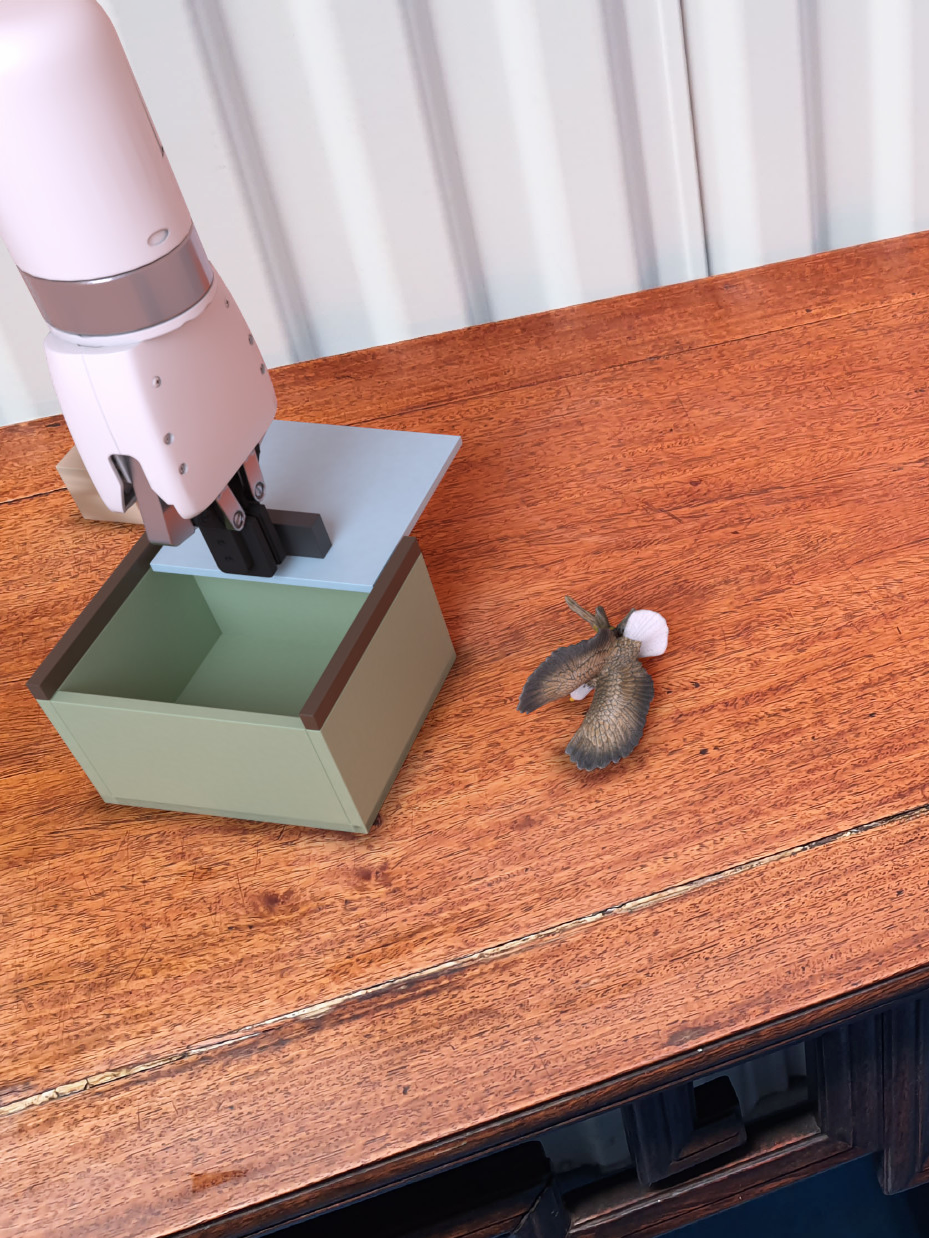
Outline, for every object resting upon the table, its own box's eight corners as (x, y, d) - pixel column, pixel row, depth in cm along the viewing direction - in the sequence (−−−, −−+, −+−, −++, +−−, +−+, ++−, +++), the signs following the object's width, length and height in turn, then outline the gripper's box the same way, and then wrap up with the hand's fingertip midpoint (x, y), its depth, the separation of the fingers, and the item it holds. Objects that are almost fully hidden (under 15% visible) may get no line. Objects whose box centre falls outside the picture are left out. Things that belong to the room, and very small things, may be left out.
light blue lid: (153, 571, 79) (132, 531, 77) (263, 425, 88) (247, 386, 86) (375, 593, 78) (360, 554, 76) (463, 443, 87) (451, 404, 85)
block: (83, 519, 96) (54, 466, 92) (119, 476, 99) (92, 424, 96) (146, 525, 95) (119, 472, 92) (180, 482, 98) (155, 430, 95)
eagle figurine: (537, 638, 86) (489, 730, 79) (588, 559, 82) (543, 648, 75) (646, 698, 88) (609, 793, 81) (700, 624, 84) (667, 716, 77)
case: (104, 803, 79) (24, 684, 71) (220, 632, 88) (159, 511, 81) (368, 834, 77) (312, 716, 70) (457, 656, 86) (416, 536, 79)
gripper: (130, 189, 70) (253, 474, 83) (-55, 361, 59) (119, 656, 73) (271, 199, 69) (373, 486, 82) (110, 375, 59) (255, 671, 72)
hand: (254, 565), depth 77 cm, fingers closed
